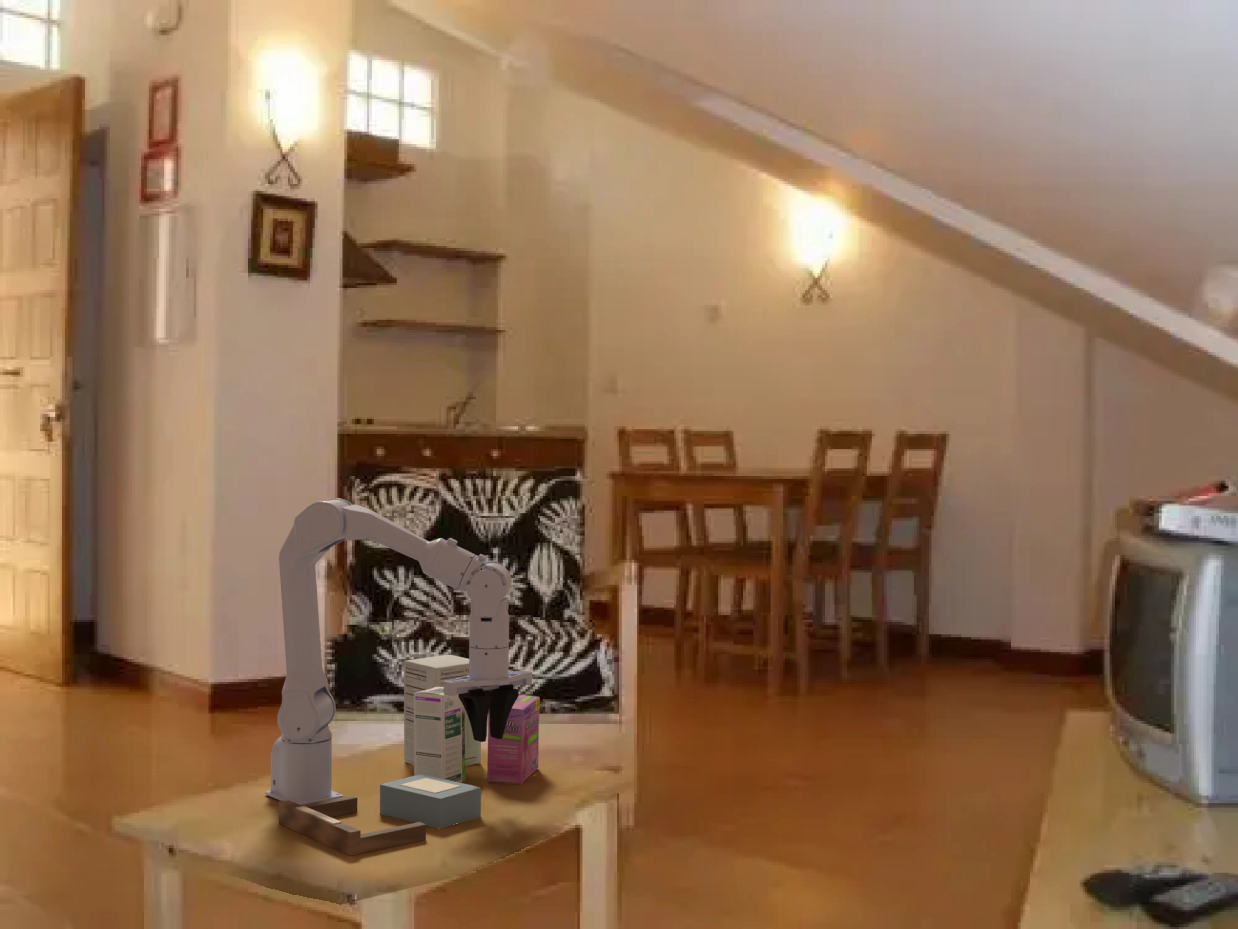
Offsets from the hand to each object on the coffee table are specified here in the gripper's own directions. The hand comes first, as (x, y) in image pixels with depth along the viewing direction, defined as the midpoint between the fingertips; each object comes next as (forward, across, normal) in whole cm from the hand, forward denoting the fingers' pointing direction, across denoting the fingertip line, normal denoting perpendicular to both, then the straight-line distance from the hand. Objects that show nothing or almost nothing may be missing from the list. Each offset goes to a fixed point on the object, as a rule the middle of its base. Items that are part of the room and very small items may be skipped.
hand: (488, 739), depth 208 cm
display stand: (+9, -23, 0) cm, 25 cm away
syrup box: (+10, +1, +14) cm, 17 cm away
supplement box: (+10, +9, +25) cm, 28 cm away
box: (+10, +13, +11) cm, 20 cm away
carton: (+10, -10, 0) cm, 14 cm away
